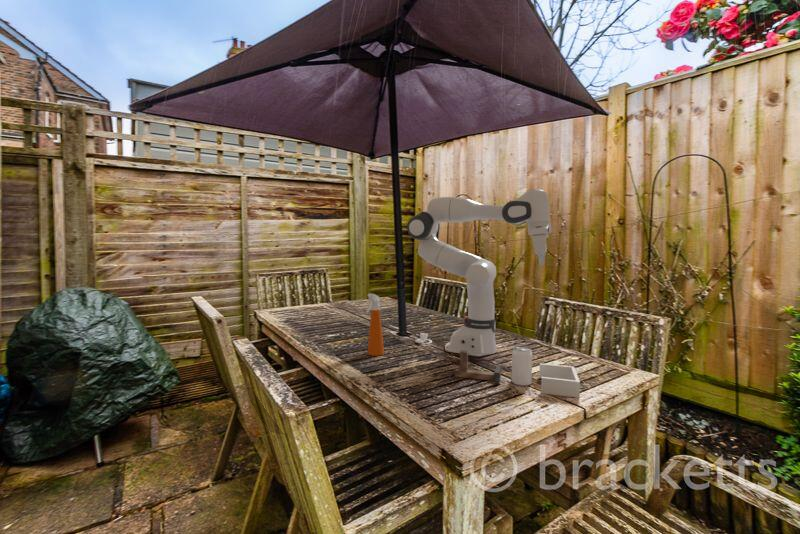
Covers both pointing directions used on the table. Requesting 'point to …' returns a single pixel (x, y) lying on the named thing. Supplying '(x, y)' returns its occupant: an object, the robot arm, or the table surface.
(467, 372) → the brown l-shaped rod
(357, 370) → the table surface
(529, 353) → the can
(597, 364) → the table surface
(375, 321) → the spray bottle
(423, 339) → the teacup and saucer
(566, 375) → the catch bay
